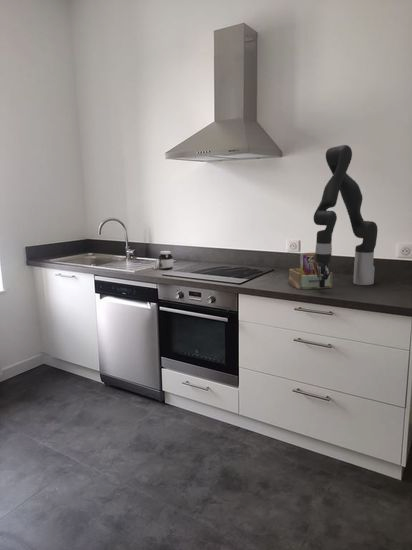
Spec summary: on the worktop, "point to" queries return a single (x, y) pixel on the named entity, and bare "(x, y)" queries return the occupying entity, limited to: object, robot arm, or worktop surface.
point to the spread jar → (164, 261)
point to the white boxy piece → (312, 281)
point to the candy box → (308, 264)
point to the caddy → (296, 279)
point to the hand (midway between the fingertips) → (321, 287)
